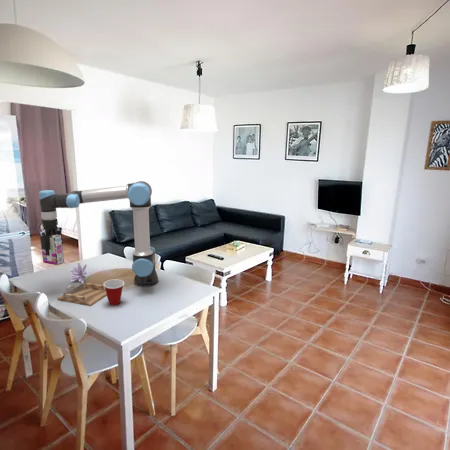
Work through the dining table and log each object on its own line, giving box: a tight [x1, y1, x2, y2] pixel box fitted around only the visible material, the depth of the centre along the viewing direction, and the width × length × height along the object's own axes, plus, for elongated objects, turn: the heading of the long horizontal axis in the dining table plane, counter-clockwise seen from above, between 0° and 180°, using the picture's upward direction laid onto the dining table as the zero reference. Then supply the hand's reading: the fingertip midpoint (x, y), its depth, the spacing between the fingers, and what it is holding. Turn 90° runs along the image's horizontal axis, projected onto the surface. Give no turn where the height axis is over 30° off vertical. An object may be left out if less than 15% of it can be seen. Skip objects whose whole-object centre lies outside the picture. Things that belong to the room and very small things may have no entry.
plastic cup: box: [102, 278, 125, 306], centre depth 172 cm, size 11×11×12 cm
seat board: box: [56, 282, 107, 307], centre depth 181 cm, size 22×18×5 cm
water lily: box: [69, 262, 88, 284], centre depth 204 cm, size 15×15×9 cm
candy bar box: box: [39, 234, 65, 266], centre depth 177 cm, size 11×5×16 cm, turn 69°
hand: (54, 258), depth 179 cm, fingers closed on candy bar box, 5 cm apart
